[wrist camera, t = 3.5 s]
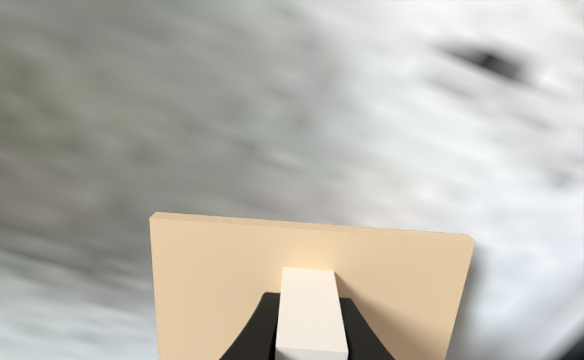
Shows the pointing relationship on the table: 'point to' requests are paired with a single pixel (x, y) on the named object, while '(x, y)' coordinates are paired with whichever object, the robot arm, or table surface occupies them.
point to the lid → (303, 285)
